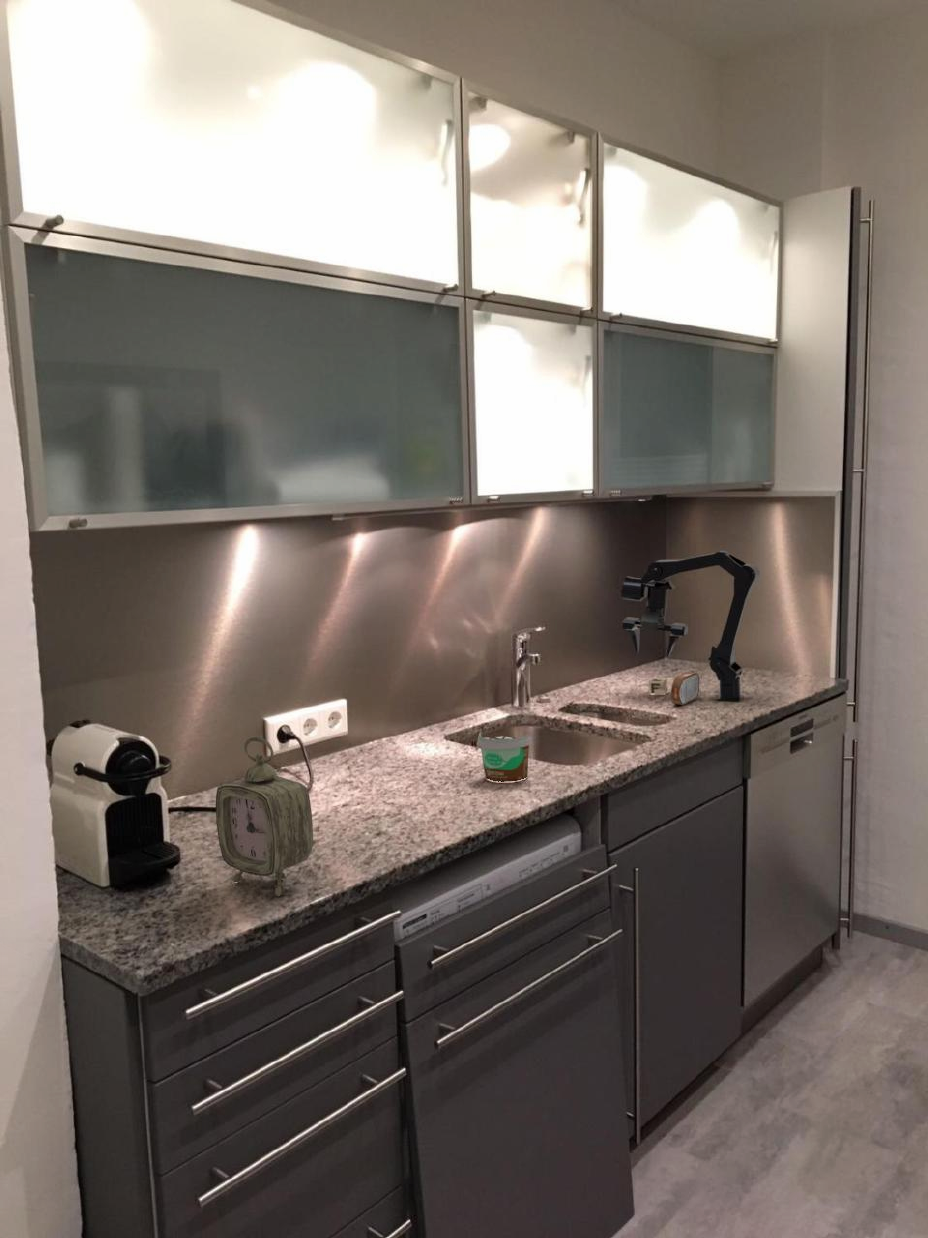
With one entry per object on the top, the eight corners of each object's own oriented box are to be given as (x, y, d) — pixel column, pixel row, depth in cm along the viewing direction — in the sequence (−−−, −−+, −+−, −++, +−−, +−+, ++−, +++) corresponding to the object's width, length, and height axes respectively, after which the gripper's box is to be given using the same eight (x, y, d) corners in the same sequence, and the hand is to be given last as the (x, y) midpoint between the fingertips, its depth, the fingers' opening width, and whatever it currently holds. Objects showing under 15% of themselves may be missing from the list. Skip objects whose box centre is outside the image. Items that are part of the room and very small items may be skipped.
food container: (470, 784, 220) (468, 739, 219) (480, 776, 226) (478, 732, 224) (524, 787, 215) (522, 741, 214) (533, 779, 221) (531, 734, 220)
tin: (691, 697, 297) (690, 669, 296) (701, 698, 295) (701, 669, 294) (670, 707, 285) (669, 678, 284) (680, 708, 283) (679, 678, 282)
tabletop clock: (221, 885, 168) (208, 738, 166) (264, 868, 175) (252, 726, 172) (279, 903, 159) (266, 747, 156) (321, 884, 166) (310, 735, 163)
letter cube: (653, 693, 307) (652, 678, 307) (667, 693, 305) (667, 678, 305) (648, 695, 303) (648, 680, 302) (663, 696, 301) (663, 681, 300)
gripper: (618, 602, 294) (614, 655, 297) (682, 610, 287) (677, 663, 289) (628, 598, 304) (624, 649, 307) (690, 605, 297) (686, 657, 299)
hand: (652, 654), depth 300 cm, fingers open, 9 cm apart
